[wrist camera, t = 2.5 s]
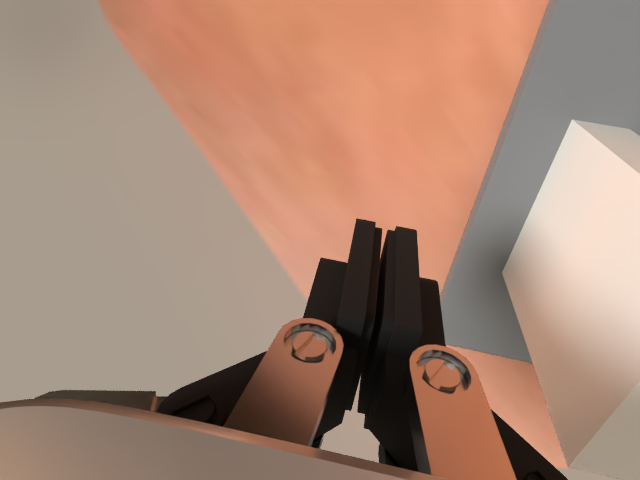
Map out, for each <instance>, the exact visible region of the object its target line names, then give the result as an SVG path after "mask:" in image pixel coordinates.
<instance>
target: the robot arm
mask: <svg viewBox="0 0 640 480" xmlns="http://www.w3.org/2000/svg"><path fill="white" fill-rule="evenodd" d="M375 223H376V222H372V221H367V220H362V219H356V224H355V229H354V234H353V239H352V244H351V249H350V254H349V259H348V263H346V262H341V261H336V260H331V259H326V258H321V259H320V262H319V265H318V268H317V272H316V275H315V279H314V282H313V286H312V289H311V292H310V296H309V299H308V303H307V306H306V309H305V313H304V316H303V318H300V319H297V320H293V321H291V322H289V323H287V324H285V325H284V326H283V327H282V328H281V329H280V331H279V332H278V333H277V335H276V337H275V339H274V340H273V342H272V344H271V345H270V347H269V349H268V351H266V352H263V353H261V354H259V355H256V356H254V357H252V358H249V359H247V360H245V361H242V362H240V363H238V364H236V365H233V366H231V367H228V368H226V369H224V370H222V371H219V372H217V373H215V374H212V375H210V376H207V377H205V378H203V379H201V380H198V381H196V382H194V383H191V384H189V385H186V386H184V387H182V388H180V389H178V390H176V391H175V392H173V393H171V394H170V395H169V396H167V397H165V396H161V397H160V396H156V391H107V390H59V391H52V392H48V393H45V394H43V395H40V396H38V397H35V398H34V399H24V400H16V401H8V402H0V480H568V479H567V478H566V477H565V476H564V475H563V474H562V473H561V472H559V471H558V470H557V469H556V468H555V467H554V466H553V465H552V464H551V463H550V462H548V461H547V460H546V459H545V458H544V457H543V456H542V455H541V454H540V453H539V452H537V451H536V450H535V449H534V448H533V447H532V446H531V445H530V444H529V443H528V442H527V441H525V440H524V439H523V438H522V437H521V436H520V435H519V434H518V433H517V432H516V431H514V430H513V429H512V428H511V427H510V426H509V425H508V424H507V423H506V422H505V421H503V420H502V419H501V418H500V417H499V416H498V415H497V414H496V413H495V412H494V411H492V410H491V409H490V407H489V404H488V401H487V398H486V396H485V393H484V390H483V388H482V385H481V382H480V380H479V377H478V374H477V372H476V371H475V369H474V367H473V365H472V364H471V363H470V362H469V361H468V360H467V359H466V358H465V357H464V356H462V355H461V354H460V353H458V352H457V351H455V350H452V349H450V348H448V347H446V344H445V336H444V328H443V320H442V312H441V304H440V295H439V287H438V282H437V281H435V280H430V279H425V278H420V277H419V261H418V245H417V231H416V230H414V229H409V228H404V227H398V226H396V229H395V231H392V230H388V231H387V234H386V238H385V242H384V246H383V250H382V254H381V258H380V251H381V238H382V228H377V227H375ZM360 376H361V380H360V390H359V400H358V413H363V414H365V422H364V428H365V429H369V430H370V431H371V432H372V433H373V435H374V436H375V437H376V438H377V439H378V441H379V442H380V444H379V451H378V457H379V463H377V462H373V461H369V460H364V459H360V458H356V457H352V456H347V455H342V454H339V453H334V452H330V451H325V450H322V449H320V447H321V445H322V442H323V437H324V434H325V433H326V432H328V431H329V430H331V429H333V428H334V427H336V426H338V425H339V424H341V423H342V420H343V417H344V413H345V410H349V411H351V409H352V405H353V402H354V398H355V394H356V390H357V387H358V383H359V379H360Z"/></svg>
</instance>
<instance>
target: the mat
mask: <svg viewBox="0 0 640 480" xmlns="http://www.w3.org/2000/svg"><path fill="white" fill-rule="evenodd" d="M572 119H573V120H579V121H584V122H590V123H596V124H602V125H608V126H614V127H620V128H626V129H630V130H632V131H633V132H635V133H636V134H638V135H639V136H640V0H550V1H549V4H548V6H547V9H546V12H545V14H544V17H543V20H542V22H541V25H540V28H539V31H538V33H537V36H536V39H535V41H534V44H533V47H532V49H531V52H530V55H529V58H528V60H527V63H526V66H525V68H524V71H523V74H522V77H521V79H520V82H519V85H518V87H517V90H516V93H515V95H514V98H513V101H512V104H511V106H510V109H509V112H508V114H507V117H506V120H505V123H504V125H503V128H502V131H501V133H500V136H499V139H498V141H497V144H496V147H495V150H494V152H493V155H492V158H491V160H490V163H489V166H488V169H487V171H486V174H485V177H484V179H483V182H482V185H481V187H480V190H479V193H478V196H477V198H476V201H475V204H474V206H473V209H472V212H471V215H470V217H469V220H468V223H467V225H466V228H465V231H464V233H463V236H462V239H461V242H460V244H459V247H458V250H457V252H456V255H455V258H454V261H453V263H452V266H451V269H450V271H449V274H448V277H447V279H446V282H445V285H444V288H443V290H442V293H441V296H440V304H441V312H442V320H443V328H444V336H445V344H446V345H450V346H455V347H460V348H464V349H469V350H474V351H478V352H483V353H488V354H492V355H497V356H502V357H506V358H511V359H516V360H520V361H525V362H529V363H533V362H532V359H531V357H530V354H529V351H528V348H527V345H526V342H525V339H524V336H523V333H522V330H521V327H520V324H519V321H518V318H517V315H516V312H515V309H514V306H513V303H512V300H511V298H510V295H509V292H508V289H507V286H506V283H505V280H504V277H503V274H502V272H503V270H504V267H505V265H506V263H507V261H508V259H509V256H510V254H511V252H512V250H513V248H514V245H515V243H516V241H517V239H518V237H519V235H520V232H521V230H522V228H523V226H524V224H525V221H526V219H527V217H528V215H529V213H530V210H531V208H532V206H533V204H534V202H535V200H536V197H537V195H538V193H539V191H540V189H541V186H542V184H543V182H544V180H545V178H546V175H547V173H548V171H549V169H550V167H551V164H552V162H553V160H554V158H555V156H556V154H557V151H558V149H559V147H560V145H561V143H562V140H563V138H564V136H565V134H566V132H567V129H568V127H569V125H570V123H571V121H572Z"/></svg>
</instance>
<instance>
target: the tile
mask: <svg viewBox="0 0 640 480" xmlns="http://www.w3.org/2000/svg"><path fill="white" fill-rule="evenodd" d="M502 274H503V277H504V280H505V283H506V286H507V289H508V292H509V295H510V298H511V300H512V303H513V306H514V309H515V312H516V315H517V318H518V321H519V324H520V327H521V330H522V333H523V336H524V339H525V342H526V345H527V348H528V351H529V354H530V357H531V359H532V362H533V365H534V368H535V371H536V374H537V377H538V380H539V383H540V386H541V389H542V392H543V395H544V398H545V401H546V404H547V407H548V410H549V413H550V415H551V418H552V421H553V424H554V427H555V430H556V433H557V436H558V439H559V442H560V445H561V448H562V451H563V454H564V457H565V460H566V463H567V466H568V467H569V468H573V469H578V470H582V471H587V472H591V473H595V474H600V475H604V476H608V477H612V478H617V479H621V480H640V136H639V135H638V134H636V133H635V132H633V131H632V130H630V129H626V128H620V127H614V126H608V125H602V124H596V123H590V122H584V121H579V120H573V119H572V121H571V123H570V125H569V127H568V129H567V132H566V134H565V136H564V138H563V140H562V143H561V145H560V147H559V149H558V151H557V154H556V156H555V158H554V160H553V162H552V164H551V167H550V169H549V171H548V173H547V175H546V178H545V180H544V182H543V184H542V186H541V189H540V191H539V193H538V195H537V197H536V200H535V202H534V204H533V206H532V208H531V210H530V213H529V215H528V217H527V219H526V221H525V224H524V226H523V228H522V230H521V232H520V235H519V237H518V239H517V241H516V243H515V245H514V248H513V250H512V252H511V254H510V256H509V259H508V261H507V263H506V265H505V267H504V270H503V272H502Z"/></svg>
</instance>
